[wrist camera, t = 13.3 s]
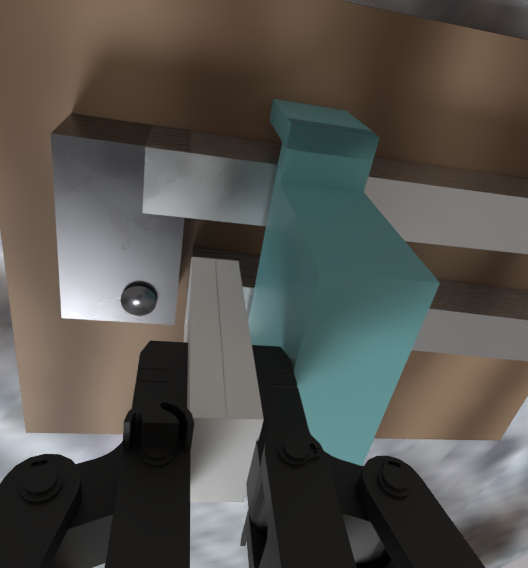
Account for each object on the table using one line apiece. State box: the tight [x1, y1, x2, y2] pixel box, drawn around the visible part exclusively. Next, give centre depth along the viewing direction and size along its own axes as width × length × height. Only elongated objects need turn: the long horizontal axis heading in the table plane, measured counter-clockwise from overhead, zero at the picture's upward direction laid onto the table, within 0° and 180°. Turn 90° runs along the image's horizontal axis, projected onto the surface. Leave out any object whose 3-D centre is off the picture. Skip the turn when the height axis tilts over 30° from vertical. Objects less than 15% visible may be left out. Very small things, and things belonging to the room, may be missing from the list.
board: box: [0, 0, 528, 440], centre depth 24 cm, size 30×23×1 cm
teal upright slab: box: [248, 99, 440, 466], centre depth 17 cm, size 3×11×10 cm, turn 170°
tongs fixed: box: [51, 113, 528, 325], centre depth 21 cm, size 25×7×3 cm, turn 80°
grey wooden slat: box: [185, 246, 528, 361], centre depth 23 cm, size 20×2×3 cm, turn 78°
